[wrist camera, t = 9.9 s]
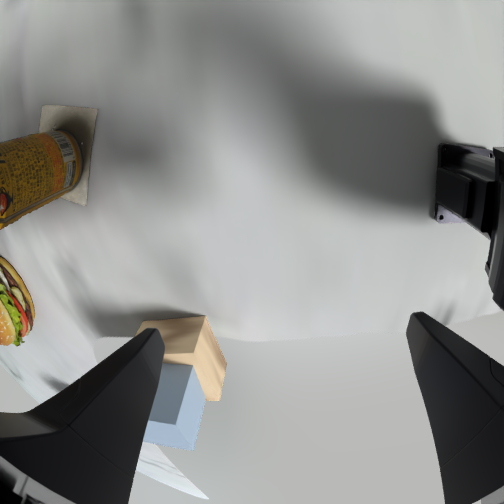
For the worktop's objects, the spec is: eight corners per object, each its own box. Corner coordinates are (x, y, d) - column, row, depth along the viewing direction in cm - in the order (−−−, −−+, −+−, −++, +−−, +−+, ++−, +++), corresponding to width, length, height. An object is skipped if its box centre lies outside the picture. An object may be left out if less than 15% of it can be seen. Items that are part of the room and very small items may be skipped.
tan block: (206, 314, 25) (193, 353, 21) (226, 363, 28) (219, 400, 24) (143, 319, 26) (124, 353, 22) (169, 365, 29) (157, 398, 25)
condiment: (36, 189, 20) (-54, 239, 10) (43, 104, 17) (-62, 124, 6) (87, 205, 21) (-12, 273, 10) (100, 109, 17) (-23, 124, 6)
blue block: (193, 365, 21) (175, 425, 16) (205, 397, 24) (194, 450, 18) (141, 360, 22) (117, 413, 17) (159, 392, 24) (142, 441, 19)
